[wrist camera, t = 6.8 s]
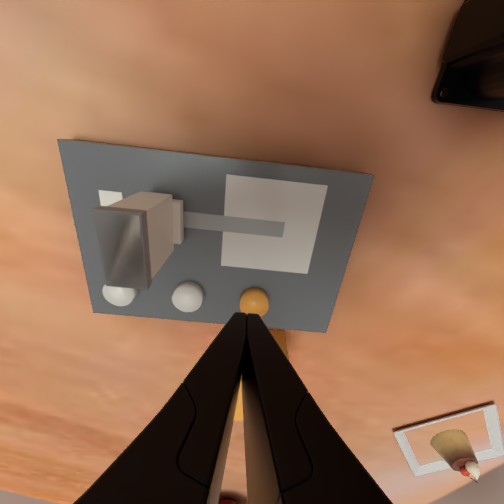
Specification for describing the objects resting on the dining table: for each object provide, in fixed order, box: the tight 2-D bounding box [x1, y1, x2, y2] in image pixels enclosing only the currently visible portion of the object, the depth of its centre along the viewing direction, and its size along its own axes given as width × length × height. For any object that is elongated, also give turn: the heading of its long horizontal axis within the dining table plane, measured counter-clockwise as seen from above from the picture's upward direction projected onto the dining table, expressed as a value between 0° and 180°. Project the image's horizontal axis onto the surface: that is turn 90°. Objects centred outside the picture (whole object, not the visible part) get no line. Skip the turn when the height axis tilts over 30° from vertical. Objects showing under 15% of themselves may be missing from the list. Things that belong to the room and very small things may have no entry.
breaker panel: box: [57, 139, 374, 333], centre depth 19 cm, size 21×14×2 cm, turn 84°
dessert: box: [394, 404, 504, 479], centre depth 30 cm, size 12×12×5 cm
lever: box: [93, 191, 184, 290], centre depth 15 cm, size 3×4×6 cm
